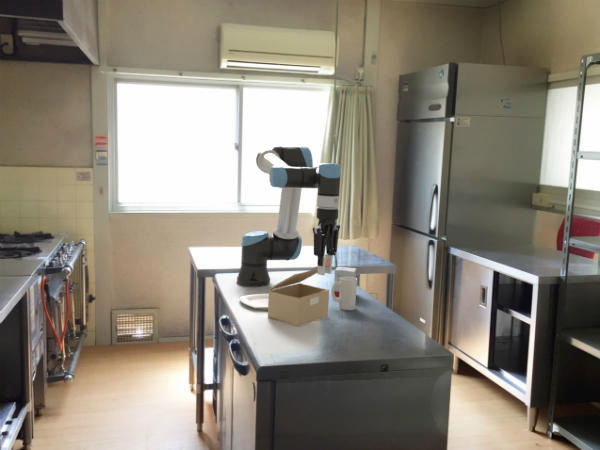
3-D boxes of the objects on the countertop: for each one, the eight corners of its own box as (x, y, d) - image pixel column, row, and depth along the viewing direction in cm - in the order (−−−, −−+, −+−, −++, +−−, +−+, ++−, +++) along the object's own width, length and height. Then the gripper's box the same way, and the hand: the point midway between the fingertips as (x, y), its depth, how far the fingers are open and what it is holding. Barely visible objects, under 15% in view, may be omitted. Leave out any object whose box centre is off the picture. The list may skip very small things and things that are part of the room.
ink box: (352, 298, 238) (354, 271, 236) (332, 297, 240) (334, 269, 238) (355, 293, 246) (356, 267, 245) (335, 292, 248) (336, 265, 246)
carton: (267, 317, 206) (268, 291, 205) (298, 308, 220) (299, 283, 219) (297, 326, 198) (299, 298, 196) (327, 316, 212) (329, 290, 210)
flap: (269, 293, 205) (266, 285, 205) (300, 285, 219) (297, 278, 219) (315, 268, 191) (311, 260, 191) (345, 262, 205) (342, 253, 205)
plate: (251, 313, 212) (252, 308, 211) (233, 300, 228) (233, 295, 228) (297, 309, 220) (297, 304, 220) (276, 296, 237) (277, 292, 237)
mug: (352, 305, 227) (354, 276, 226) (357, 310, 221) (359, 280, 219) (328, 306, 225) (330, 276, 224) (332, 310, 219) (334, 280, 217)
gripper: (322, 210, 188) (319, 279, 191) (349, 207, 201) (346, 272, 204) (304, 208, 193) (301, 275, 196) (332, 205, 205) (329, 268, 209)
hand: (324, 273), depth 200 cm, fingers closed on flap, 3 cm apart
